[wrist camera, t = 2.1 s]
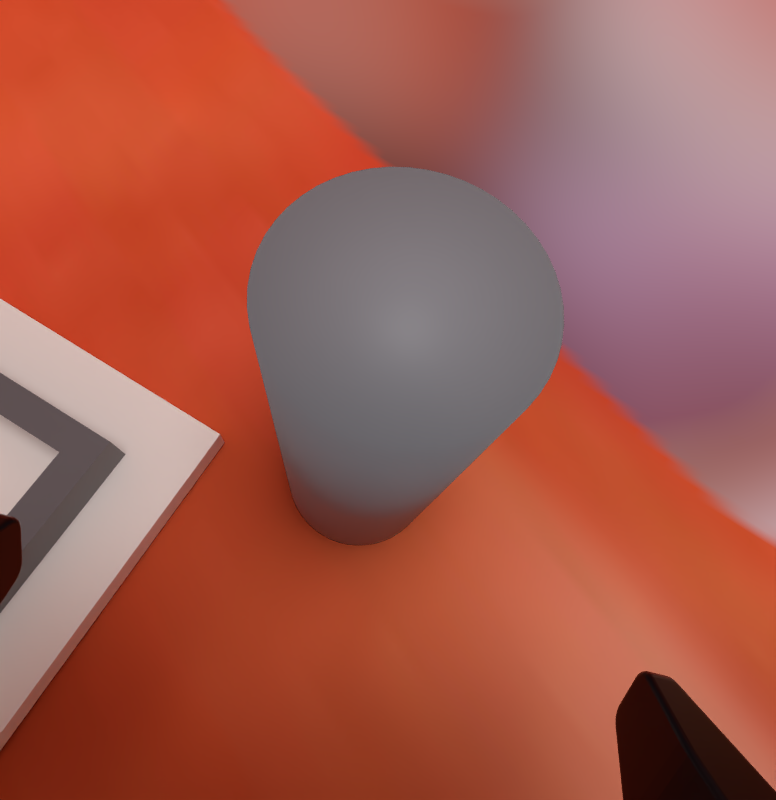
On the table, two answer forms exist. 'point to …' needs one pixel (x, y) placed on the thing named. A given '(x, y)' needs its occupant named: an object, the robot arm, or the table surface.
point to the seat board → (77, 494)
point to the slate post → (396, 340)
